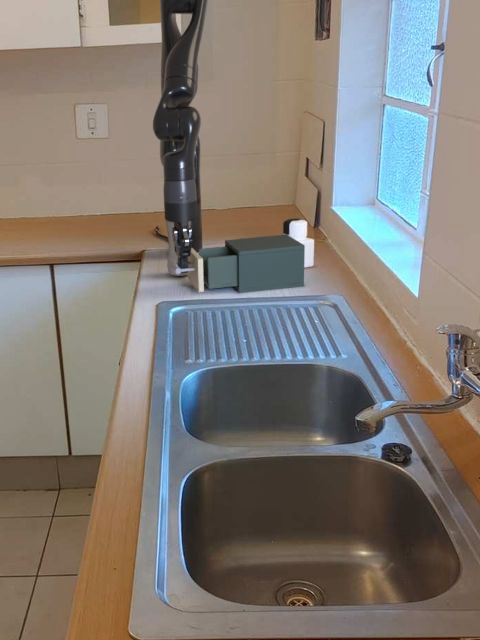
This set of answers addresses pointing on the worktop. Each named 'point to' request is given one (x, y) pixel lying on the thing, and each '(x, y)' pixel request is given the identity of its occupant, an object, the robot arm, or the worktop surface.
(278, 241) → the cabinet
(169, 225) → the silver metal bottle
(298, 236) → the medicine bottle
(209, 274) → the drawer
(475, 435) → the worktop surface
